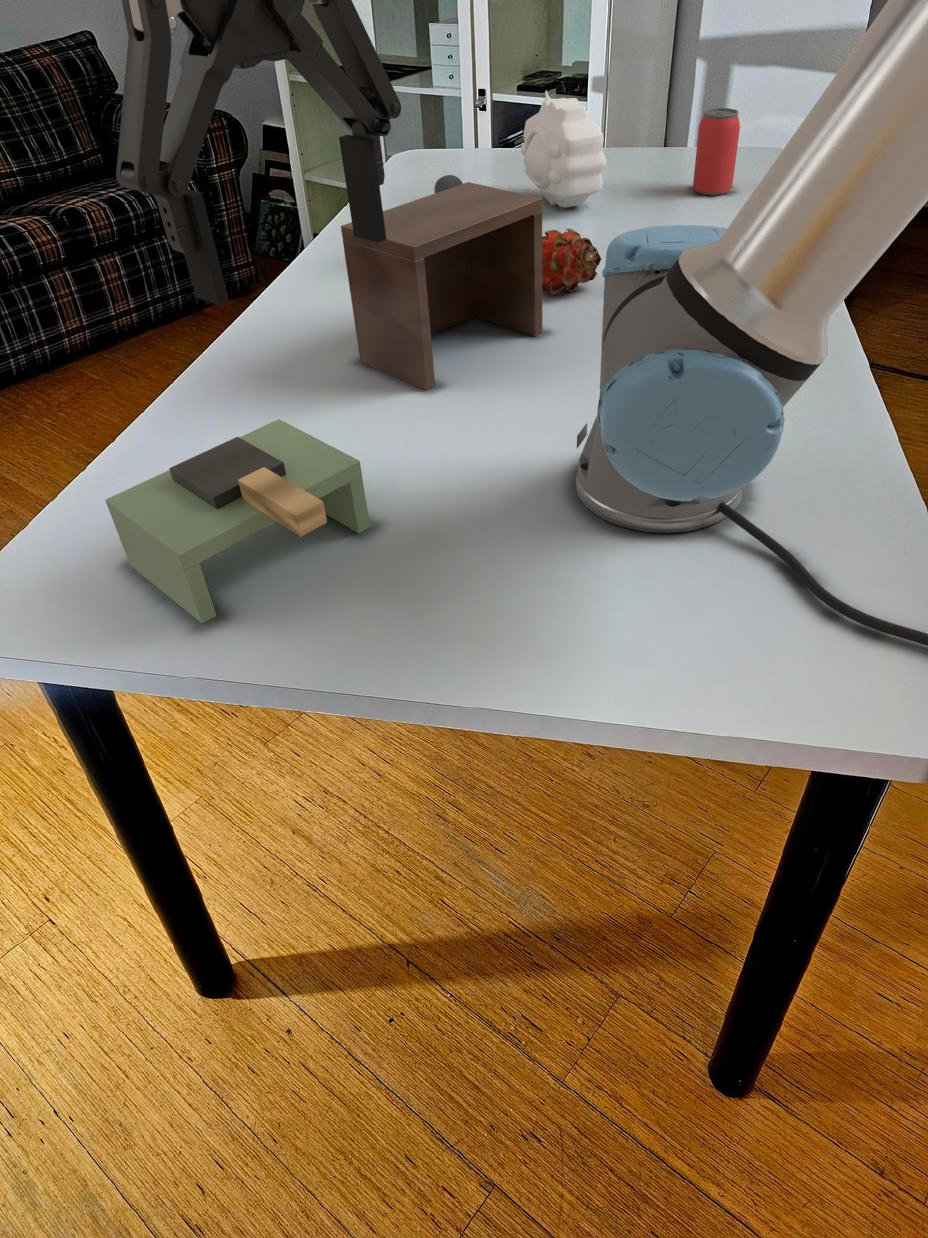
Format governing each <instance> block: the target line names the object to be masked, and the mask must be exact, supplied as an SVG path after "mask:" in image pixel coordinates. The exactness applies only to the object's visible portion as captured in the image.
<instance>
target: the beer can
mask: <svg viewBox="0 0 928 1238" xmlns="http://www.w3.org/2000/svg"><path fill="white" fill-rule="evenodd" d="M739 114H740V113H739V111H738V110H737V109H734V108H728V107H716V108H710V109H706V110H705V111H703V115H702V117H701V120H700V122H699V124H698V133H697V140H696V141H697V142H696V150H695V162H694V170H693V171H694V172H693V183H692V190H693V191H694V192H696V194H700V195H703V196H721V195H725V194H727V193H729V192H730V191H731V190H732V189H733V185H734V176H735V170H736V162H737V154H738V146H739V138H740V129H741V124H740V119H739Z"/></svg>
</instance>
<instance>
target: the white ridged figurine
mask: <svg viewBox="0 0 928 1238" xmlns="http://www.w3.org/2000/svg"><path fill="white" fill-rule="evenodd" d="M544 94H545V95H544V97H545V98H544V100H543V101H542V103H541V106H540V109H539V111H538V112H537V113H536V114H534V115H532V116H531V117H530V118H529V117H528V119H526V121H525V123H524V128H523V143H522V144H521V145H520V152H521V154H522V155H523V165H524V170H525V174H526V176H527V177H528V178H529V179H530V181H531V182H532V183H533V184H534V186H535V187H536V188H537V190H538V191H539V192H540V194H542V196H543V197H544V198H545V199H546V200H547V201H548V203H549V204H550V205H551V206H559V208H571V207H576V206H581V205H582V204H583V205H584V203H585V202H586V200H587V199H588V198H590V196H592V195H594V194H597V193H598V192H600V191H602V189H603V172H604V171H605V170H604V169H605V168H606V165H607V158H606V156H605V153H604V149H603V148H604V147H603V146H604V134H603V132H602V130H601V129H600V128H599V127H598V126H597V124H596V123H595V122H594V121H593V120H592V119H591V117H590V116H589V113H588V110H587V107H586V106H585V104H580V103H579V100H578V98H575V97H569V98H567V97H566V98H565V97H560V98H553V99H552V98H551V97H550V96H549V92H548V90H545V93H544Z"/></svg>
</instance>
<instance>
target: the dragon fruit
mask: <svg viewBox="0 0 928 1238" xmlns="http://www.w3.org/2000/svg"><path fill="white" fill-rule="evenodd" d="M565 230H566V231H564V232H561V231H559V230H557V229H551V230H546V231H544V235H542V290H549V293H550V294H551V295H553V296H555V295H556V294H559V293H561V292H562V290H563V289H565V290H566V291H567V292H574V291H576V290H578V289H579V284H580V283H582V284H587V283H589V282H591V281H594V280H595V278H596V277H597V275H598V272H597V268H598V266H599V265H600V263H601V261H602V258H601V255H600V253H599V251H598V248H597V247H595V246H594V245H593V243H592V241H591V240H590V238H587V237H584V236H583V237H582V236H581V234H580V233H578V232H577V230H574V229H573V228H572V227H568V228H565Z"/></svg>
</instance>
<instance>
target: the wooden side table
mask: <svg viewBox="0 0 928 1238" xmlns="http://www.w3.org/2000/svg"><path fill="white" fill-rule="evenodd" d="M422 197H423V198H420V197H419V198H420V199H419V198H418V199H415V200H412V201H408V202H406V203H403V204H400V205H397V206H394V207H391V208H388V209H386V210H383V216H384V224H385V232H386V239H387V240H384V241H382V242H379V243H378V242H374V241H370V240H367V239H363V238H359V237H355V236H354V233H353V226H352V221H351V222H348V223H345V224H342V225H341V226H340V230H341V238H342V246H343V253H344V258H345V265H346V272H347V279H348V280H347V281H348V286H349V293H350V300H351V308H352V313H353V314H352V316H353V321H354V327H355V335H356V336H355V337H356V342H357V349H358V355H359V362H360V363H361V364H363V365H365V366H368V367H371V368H373V369H375V370H377V371H380V372H383V373H385V374H387V375H389V376H392V377H393V378H396V379H398V380H401V381H403V382H406V383H409V384H411V385H413V386H416V387H417V388H421V389H423V390H425V391H428V390H430V389H432V388H434V387H436V378H435V366H434V355H433V342H432V336H433V335H435V334H438V333H439V332H442V331H444V330H446V329H448V328H451V327H453V326H455V325H457V324H460V323H461V322H464V321H467V320H468V319H470V318H473V317H476V318H479V319H481V320H484V321H488V322H490V323H493V324H496V325H499V326H502V327H505V328H507V329H508V328H509V329H512V330H514V331H517V332H519V333H523V334H526V335H529V336H532V337H537V336H539V335H542V334H543V288H542V237H543V198H542V197H539V196H535V195H529V194H525V193H521V192H517V191H516V192H515V191H511V190H507V189H502V188H497V187H493V186H489V185H483V184H479V183H474V182H471V181H470V182H469V181H467V182H463V184H461V185H458V186H455V187H452V188H449V189H447V190H444V191H441V192H438V193H435V192H434V193H432V194H430V195H427V196H422Z"/></svg>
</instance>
